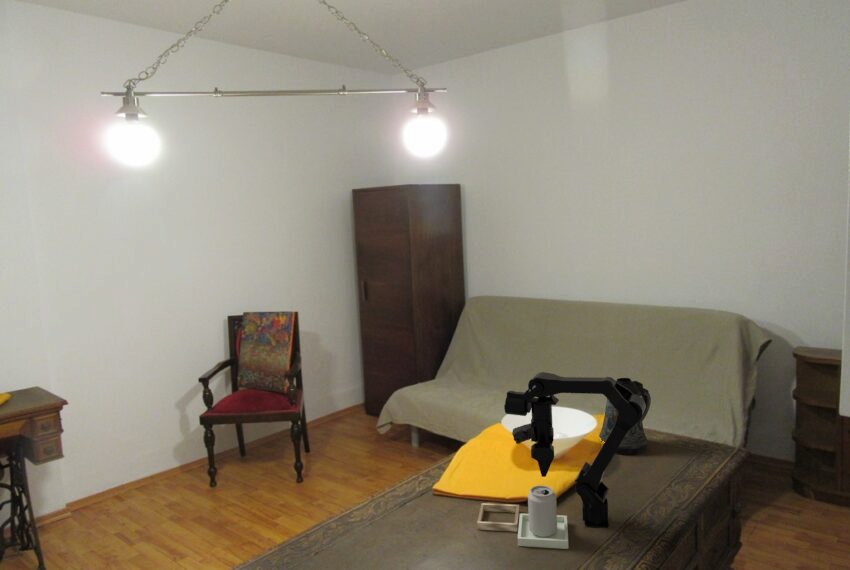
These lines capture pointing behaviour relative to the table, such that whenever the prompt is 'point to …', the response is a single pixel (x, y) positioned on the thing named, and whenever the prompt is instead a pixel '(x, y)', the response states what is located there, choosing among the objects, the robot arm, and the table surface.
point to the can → (542, 511)
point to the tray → (534, 541)
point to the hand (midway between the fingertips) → (543, 469)
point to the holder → (498, 525)
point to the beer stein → (635, 437)
